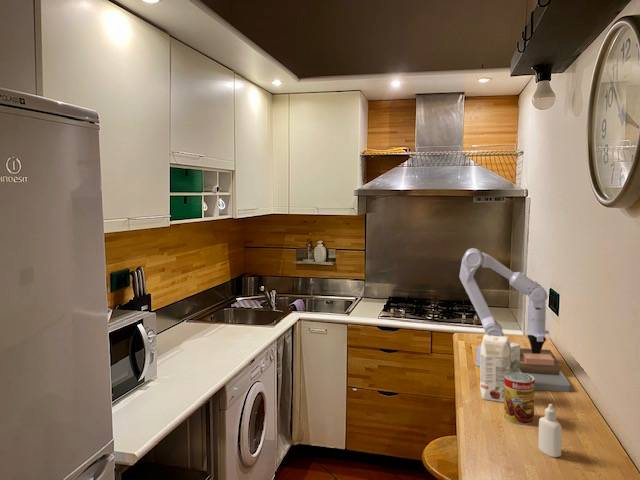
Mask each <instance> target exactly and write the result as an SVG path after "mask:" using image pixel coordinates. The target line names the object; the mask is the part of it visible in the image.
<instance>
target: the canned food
mask: <svg viewBox="0 0 640 480" xmlns="http://www.w3.org/2000/svg"><path fill="white" fill-rule="evenodd" d="M534 387H535V379H534V377H533V376H531V375H529V374H526V373H521V372H509V373H506V374H505V375H504V402H503V418H504V419H505V420H506V421H508V422H509V423H512V424H515V425H523V426H524V425H525V426H526V425H530V424H532V423H534V421H535V389H534Z"/></svg>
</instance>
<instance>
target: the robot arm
mask: <svg viewBox="0 0 640 480" xmlns="http://www.w3.org/2000/svg"><path fill="white" fill-rule="evenodd" d="M479 267H481V268H490V269H492V270H493V271H494V272H496V273H497V274H499V275H501V276H502V277H504V278H505V279H507V280H508V282H509V283H508V285H510V286H511V287H512V288H514V289H515V290H517V291H519V292H520V293H521V294H523V296H528V297H529V299H528V306H527V307H528V311H527V314H528V315H527V316H528V317H527V331H526V332H527V333H528V334H527V335H526V336H527V339H528V341H529V344H530V349H531V350H532V354H540V353H541V349H543V346H544V344H545V342H546V341H547V339H546V337H545V336H546V335H549V334H550V331H549V330H546V321H547V319H546V314H547V313H546V312H547V311H546V310H547V309H546V308H547V306H546V304H547V302H546V301H547V300H548V293H547V291H546V289H545V288H544V287H543V286H542V285H541V284H540V283H539V282H538V281H536V280H535V281H534V280H532V279H531V278H530V277H528V276H527V273H525V272H521V271H516V272H515V271H513V270H511V269H510V268H508V267H507V266H505V265H504V264H503V263H501V262H500V261H498V260H497V259H496V258H494V257H493V256H491V255H489V254H487V253H485V252H484V251H480V249H477V248H475V247H471V248H468V249H467V250H466V251H465V253H464V254H463V256H462V258H461V265H460V270H459V280H460V282H461V284H462V285H463V286H462V287H463V288H464V289H465V293H466V295H468V298H469V300H470V302H471V304H472V305H473V308H474V310H475V312H476V314H477V316H478V318H479V319H480V322H481V324H482V327H483V329H484V335H492V336H505V334H504V332H503V327H502V325H501V324H500V323H499V322H498V321H497V320H496V319H495V317H494V315H493V313H492V312H491V310H490V307H489V306H488V304H487V302H486V300H485V297H484V295H483V294H482V291H481V290H480V287H479V286H478V284H477V281H476V279H475V278H474V276H475V274H476V270H477V269H479ZM480 362H481V344H478V346H477V347H476V362H475V364H474V365H475V366H477V367H480Z"/></svg>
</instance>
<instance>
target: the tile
mask: <svg viewBox="0 0 640 480" xmlns="http://www.w3.org/2000/svg"><path fill="white" fill-rule="evenodd" d="M523 359H524V361H525V363H526V364H537V365H554V359H553V358H552V356H551V355H550V354H532V353H523Z"/></svg>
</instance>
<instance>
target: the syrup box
mask: <svg viewBox="0 0 640 480" xmlns="http://www.w3.org/2000/svg"><path fill="white" fill-rule="evenodd" d="M510 345H511V364H510V372H519V367H520V348H521V344H519V343H516V342H514V341H510Z"/></svg>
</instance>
